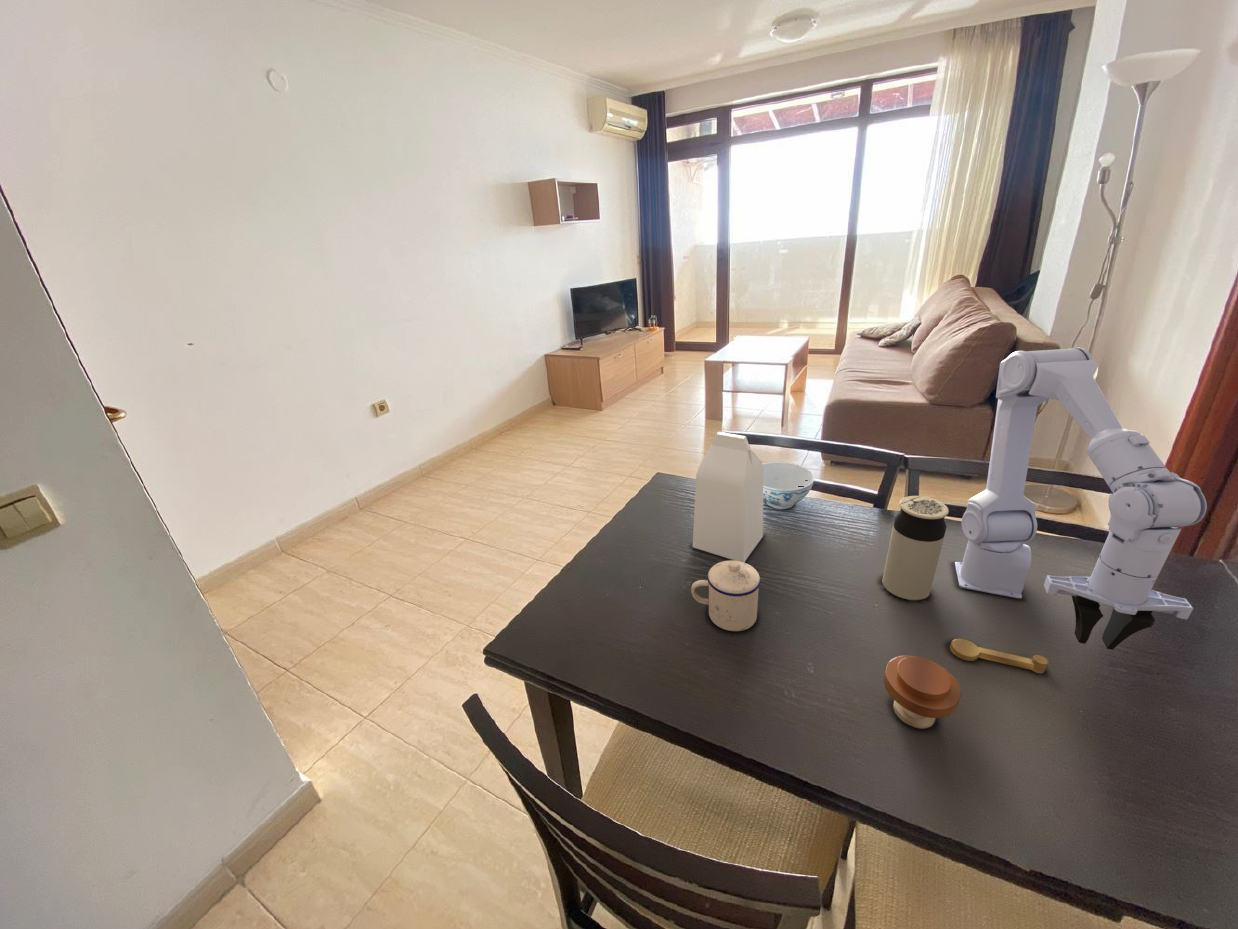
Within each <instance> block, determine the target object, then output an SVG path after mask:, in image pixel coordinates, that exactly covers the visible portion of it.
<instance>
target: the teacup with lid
mask: <svg viewBox="0 0 1238 929" xmlns="http://www.w3.org/2000/svg"><path fill="white" fill-rule="evenodd" d="M760 586H761V577H760V575H759V572H758V571H757V570H756V568H755V567H753V566H752V565H750V564H748V563H746V562H740V561H735V560H732V559H729V560H724V561H723V560H722V561H720V562H718V563H715V564H714V565H712V567H711V568H710V569H709V570H708V573H707V579H699V580H696V581H695V582H693V583H692V585H691V588H690V592H691V595H692V597H693V599H694V600H695V601H696V602H698V603H699V604H702V605H708V616H709V618H710V620H711V622H712V624H714V625H716V626H717V627H718V628H720V629H722V630H726V631H730V632H742V631H745V630H748V629H750V628H751V627H753V626H754V624H755V623H756V621H757V619H758V604H759V602H758V601H759V587H760ZM699 587H708V598H707V597H703V596H701V595H699V594H698V593H697V591H696V589H697V588H699Z"/></svg>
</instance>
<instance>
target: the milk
mask: <svg viewBox="0 0 1238 929" xmlns="http://www.w3.org/2000/svg"><path fill="white" fill-rule="evenodd" d="M750 446H751V445H750V444H749V441H748V438H747V436H746V435H740V434H735V433H729V432H724V431H718V432H717V433H715V436H714V438H713V439H712V441H711V443H710V446H709V447H708V449H707V451H706V453H705V455H704V457H703V458H702V460H701V462H700V464H699V466H698V468H697V471H696V475H695V488H694V489H695V490H694V509H693V513H694V514H693V529H692V548H693V549H697V550H700V551H703V552H707V553H710V554H713V555H716V556H720V557H721V558H722V557H723V558H726V559H728V560H732V561H740V562H744V563H746V561H747V560H748V558H749V557H750V555H751V554H752V552H753V551H754V549H755V548H756V547H757V546H758V544H759V543H760V541H761V540H762V539H763V537H764V500H763V464H764V463H763V461H762V460H761V458H760V457H759V456H758V455H757V454H756V453H755V451H753V450H752V449H751V447H750Z"/></svg>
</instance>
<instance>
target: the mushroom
mask: <svg viewBox="0 0 1238 929" xmlns="http://www.w3.org/2000/svg"><path fill="white" fill-rule="evenodd" d="M883 684H884V687H885V690H886V692H887V693H888V695H890V697H891V698H892V699H893V705H892V706H893V710H894V713H895V715H896V716H897V718H899V719H900V720H901V721H902V722H903V723H905V724H906V725H907V726H908V725H909V726H910V727H912V728H916V729H928V728H931V727H932V726H933V725H934V724H935V722H936V719H943V718H946V717H949V716H952V715H953V714H954V713H955V712H956V711H957V709H958V707H959V703H960V702H961V696H962V691H961V687H960V684H959V683H958V681H957V679H956V678H955V677H954V676H953V674H951V673H950V672H949V670H947V669H946V668H945V667H943V666H942V665H940V664H939V663H936V662H935V661H934V660H933V661H932V660H930V659H929V658H926V657H922V656H917V655H910V654H909V655H898V656H896V657H894V658H892V659H891V660H889V661H888V662H887V664H886V666H885V670H884V675H883Z"/></svg>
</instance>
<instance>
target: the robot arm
mask: <svg viewBox="0 0 1238 929" xmlns="http://www.w3.org/2000/svg"><path fill="white" fill-rule="evenodd" d="M1091 354H1092V353H1091V352H1090V351H1089V350H1087V349H1086V348H1084V347H1080V346H1078V347H1077V346H1075V347H1069V348H1061V349H1060V348H1059V349H1043V350H1042V349H1041V350H1030V351H1029V350H1028V351H1026V350H1016V351H1014V352H1012V353H1010V354H1009V355H1008V356H1007V357H1006V358H1005V359H1003V360H1002V361H1001V362H1000V363H999V370H998V378H997V384H996V393H995V399H997V405H996V412H995V420H994V427H993V435H992V441H991V449H990V457H989V465H988V473H987V478H986V487H985V489H984V490H983V491H981V492H979V493H977V494H976V495H974V496H972V497H971V498H969V499H968V500H967V506H966V509H965V511H964V512H963V515H962V517H961V529H962V533H963V534H964V536H965V537H966V538H967V540H968V541H967V544H966V548H965V551H964V555H963V558H962V562H961V561H955V562H954V567H955V572H956V576H957V580H958V581H957V582H958V586H959V587H960V588H962V589H966V590H972V591H976V592H982V593H987V594H992V595H998V596H1003V597H1008V598H1014V599H1022V598H1023V595H1022V594H1023V591H1024V587H1025V584H1026V583H1027V582H1026V581H1027V579H1028V576H1029V574H1030V570H1031V566H1032V560H1033V559H1032V558H1033V557H1032V550H1031V546H1029V545H1028V544H1025V542H1030V541H1032V540H1034V538H1035V537H1036V534H1037V532H1038V521H1037V517H1036V510H1037V505H1036V503H1034V502H1033V501H1032V500H1031V499H1029V497H1026V496H1025V495H1024V494H1025V489H1026V482H1027V476H1028V469H1029V462H1030V457H1031V450H1032V444H1033V437H1034V430H1035V425H1036V424H1035V423H1036V418H1037V413H1038V407H1039V406H1040V405H1041V404H1043V403H1045V402H1046V401H1047V400H1049V399H1050V400H1055V401H1059V402H1060V403H1061V405H1062V406H1063V408H1065V410H1066V411H1067V412H1068V413H1069V415H1070V416H1071V417H1072V418H1073V420H1074V421H1075V422H1076V423H1077V425H1079V427H1080V428H1081V429H1082V430H1083V432H1084V433H1085V434H1086V435H1087V437H1088V438H1089V439H1090V442H1089V444H1088V446H1087V449H1086V454H1087V456H1088V457H1089V459H1090V460H1091V461H1092V464H1093V465H1094V466H1095V468H1096V470H1097V471H1098V472H1099V474H1100V475H1101V477H1102V478H1103V480H1104V482H1105V484H1106V485H1107V486H1108V488H1109V490H1110V491H1111V492H1112V493H1109V496H1108V500H1107V501H1108V502H1107V503H1108V510H1109V515H1110V517H1109V521H1108V522H1107V525H1108V530H1109V532H1108V533H1107V534H1108V535H1107V537H1106V539H1105V542H1104V543H1103V547H1102V549H1101V551H1100V553H1099V555H1098V558H1097V561H1096V563H1095V565H1094V568H1093V570H1092V572H1091V575H1090V576H1057V575H1050V574H1047V575H1046V577H1045V580H1044V583H1043V588H1044V590H1045V592H1046V594H1047V595H1051V596H1057V594H1060V595H1066V596H1071V599H1072V600H1071V601H1072V604H1073V607H1074V614H1075V616H1074V617H1075V628H1074V636H1075V638H1076V640H1077V643H1079V644H1083V645H1086V644H1087V642H1088V641H1089V638H1090V636H1091V634H1092V631H1093V629H1094V628H1095V626H1096V625H1097V623H1098V622H1099V621H1100V620H1102V618H1103V617H1104V614H1103V612H1102V611H1101V609H1100V607H1101V604H1103V605H1105V606H1107V607H1110V608H1111V607H1112V611H1111V615H1110V617H1109V620H1108V622H1107V624H1106V626H1105V628H1104V630H1103V633H1102V637H1101V640H1102V642H1103V644H1104V646H1105V647H1106V649H1107V650H1112V651H1113V650H1114V649H1116V648H1117V647H1118V646H1119V645H1120V644H1121V643H1122V642H1124V640H1127V639H1128V638H1129V637H1131V636H1133V635H1134V634H1135V633H1138V632H1140V631H1142V630H1146V629H1148V628H1152V626H1153V625H1154V624H1155V622H1156V619H1155V618H1154V615H1153V614H1152V613H1153V612H1160V613H1164V614H1170V615H1174V616H1175V618H1177V619H1183V620H1188V619H1189V617H1190V616H1191V614H1192V612H1193V610H1194V607H1193V606H1192V605H1191V603H1190V602H1189V601H1188V599H1187V598H1185V597H1179V596H1175V595H1171V594H1167V593H1164V592H1161V591H1157V590H1154V589H1153V587H1154V585H1155V583H1156V582H1157V580H1158V577H1159V575H1160V573H1161V571H1162V569H1163V567H1164V565H1165V563H1166V561H1167V559H1168V556H1169V555H1170V553H1171V551H1172V549H1173V547H1174V545H1175V543H1176V541H1177V539H1178V537H1179V534H1180V532H1181V530H1182V528H1184V527H1190V526H1194V525H1196V524H1198V523H1200V522H1201V521H1202V520H1203V519H1204V517H1205V516H1206V513H1207V509H1208V502H1207V500H1206V497H1205V495H1204V493H1203V492H1202V489H1201V487H1200V486H1199V485H1198V484H1196V483H1195V482H1193V481H1190V480H1188V479H1185V478H1181V477H1180V476H1179V475H1178V473H1175V472H1171V471H1170V470H1169V469H1168V468H1167V466H1166V465H1165V464H1164V462H1163V461H1162V460H1161V458H1160V457H1159V455H1158V454H1157V453H1156V451H1155V450H1154V449H1153V448H1152V446H1151V445H1150V440H1149V439H1148V438H1147V436H1146V435H1143V433H1141V432H1139V431H1137V430H1132V429H1127V428H1124V427H1123V425H1122V424H1121V421H1119V419H1118V417H1117V415H1116V413H1115V411H1114V410H1113V408H1112V406H1111V405H1110V403H1109V402H1108V400H1107V398H1106V396H1105V394H1104V392H1103V391H1102V389H1101V387H1100V386H1099V383H1097V381H1096V378H1097V376H1098V372H1099V364H1098V363H1097V362H1096V361H1095V360H1094V358H1093V356H1092V355H1091Z"/></svg>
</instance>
